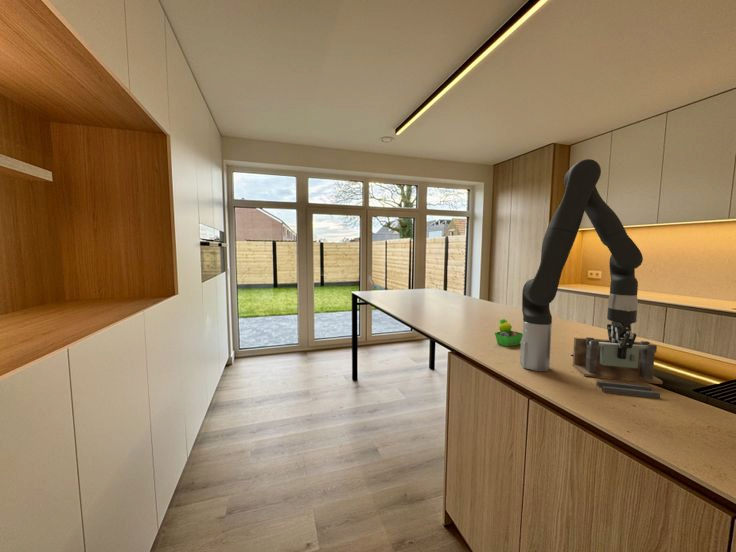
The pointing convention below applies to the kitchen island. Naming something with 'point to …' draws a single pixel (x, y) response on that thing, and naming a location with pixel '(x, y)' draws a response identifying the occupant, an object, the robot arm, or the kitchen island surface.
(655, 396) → the door rack
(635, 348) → the door
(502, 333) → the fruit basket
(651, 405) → the kitchen island surface
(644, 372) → the cabinet frame
